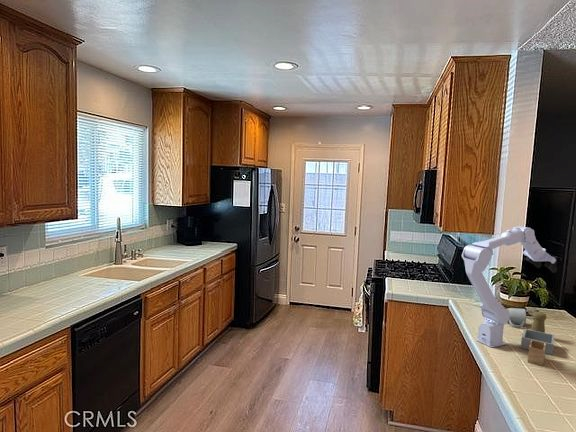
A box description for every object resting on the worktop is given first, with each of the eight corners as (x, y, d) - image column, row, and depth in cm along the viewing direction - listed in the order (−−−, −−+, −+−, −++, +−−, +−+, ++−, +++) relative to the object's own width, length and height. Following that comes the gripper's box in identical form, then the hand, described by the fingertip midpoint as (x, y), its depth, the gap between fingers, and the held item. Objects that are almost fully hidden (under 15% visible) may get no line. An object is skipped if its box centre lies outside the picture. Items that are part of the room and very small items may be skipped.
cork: (530, 332, 188) (533, 309, 187) (546, 336, 184) (548, 312, 183) (528, 336, 183) (530, 312, 182) (544, 340, 179) (546, 315, 178)
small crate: (543, 366, 153) (544, 350, 153) (527, 362, 156) (529, 347, 156) (544, 357, 161) (545, 343, 160) (529, 354, 164) (531, 339, 163)
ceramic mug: (504, 319, 205) (505, 304, 204) (523, 322, 202) (524, 307, 201) (507, 327, 195) (509, 311, 194) (527, 330, 192) (528, 314, 191)
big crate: (552, 355, 164) (553, 344, 163) (520, 348, 170) (521, 337, 169) (553, 345, 174) (554, 334, 174) (523, 338, 180) (524, 328, 180)
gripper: (554, 245, 170) (568, 266, 175) (525, 237, 184) (539, 258, 188) (543, 257, 170) (558, 278, 174) (514, 249, 183) (529, 269, 188)
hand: (547, 268), depth 181 cm, fingers open, 7 cm apart
